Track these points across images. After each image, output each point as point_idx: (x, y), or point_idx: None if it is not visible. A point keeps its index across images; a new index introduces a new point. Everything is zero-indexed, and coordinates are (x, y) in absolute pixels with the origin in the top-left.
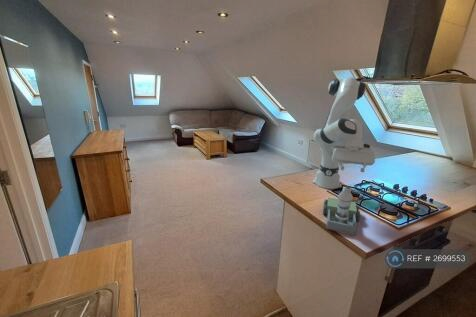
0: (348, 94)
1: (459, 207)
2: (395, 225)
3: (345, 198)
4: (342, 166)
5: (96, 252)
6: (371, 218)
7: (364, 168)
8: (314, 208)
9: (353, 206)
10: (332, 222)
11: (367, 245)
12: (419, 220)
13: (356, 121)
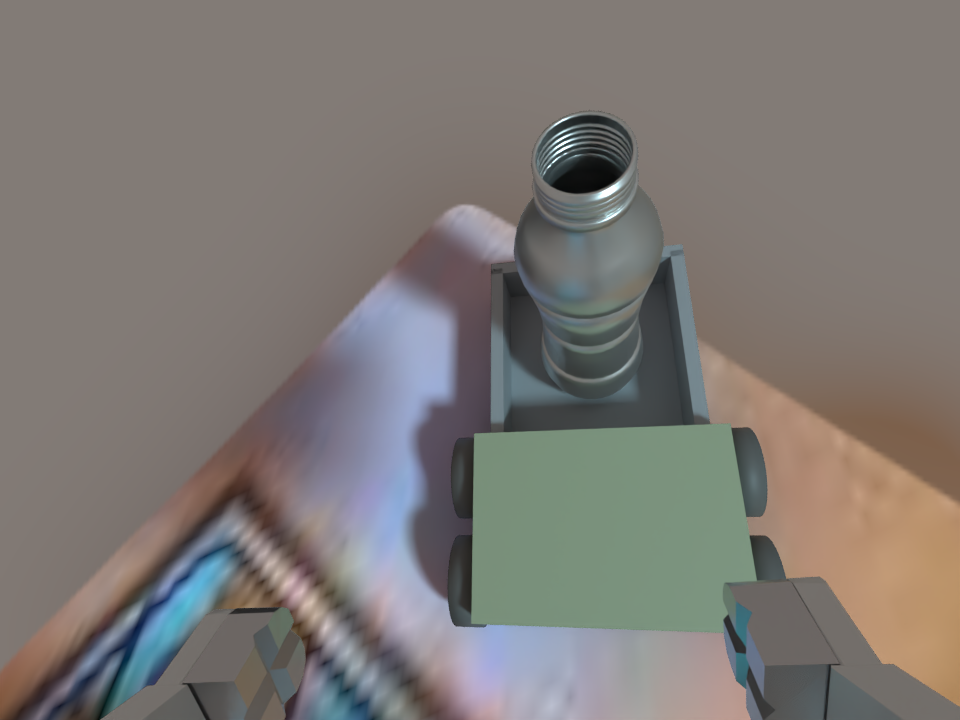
0: None
1: None
2: (240, 524)
3: (586, 174)
4: (820, 640)
5: None
6: (371, 556)
7: (165, 670)
8: (835, 524)
9: (496, 516)
10: None
11: (447, 243)
12: (55, 676)
13: None
